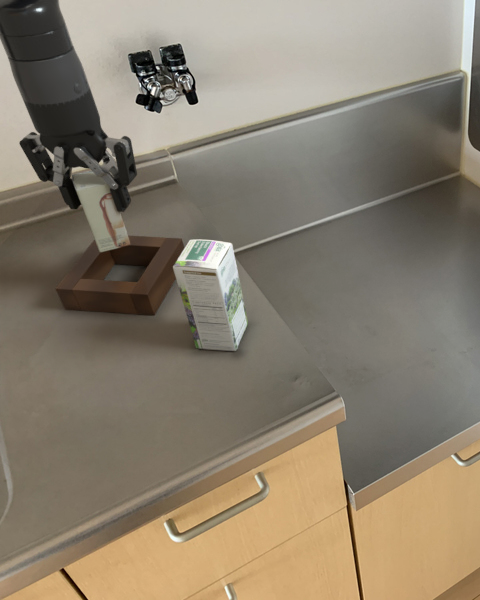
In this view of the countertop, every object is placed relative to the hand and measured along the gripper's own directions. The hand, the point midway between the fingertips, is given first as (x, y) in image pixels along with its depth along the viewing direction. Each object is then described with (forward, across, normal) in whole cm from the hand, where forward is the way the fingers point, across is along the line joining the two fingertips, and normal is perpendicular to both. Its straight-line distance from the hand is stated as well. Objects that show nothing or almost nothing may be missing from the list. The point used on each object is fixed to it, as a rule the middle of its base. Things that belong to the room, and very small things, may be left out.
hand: (100, 207), depth 84 cm
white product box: (+6, 0, 0) cm, 6 cm away
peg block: (+14, 0, 0) cm, 14 cm away
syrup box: (+14, -18, +10) cm, 25 cm away
